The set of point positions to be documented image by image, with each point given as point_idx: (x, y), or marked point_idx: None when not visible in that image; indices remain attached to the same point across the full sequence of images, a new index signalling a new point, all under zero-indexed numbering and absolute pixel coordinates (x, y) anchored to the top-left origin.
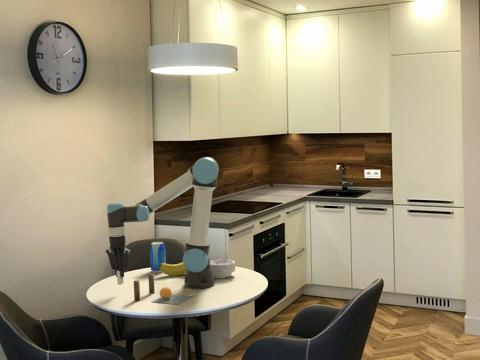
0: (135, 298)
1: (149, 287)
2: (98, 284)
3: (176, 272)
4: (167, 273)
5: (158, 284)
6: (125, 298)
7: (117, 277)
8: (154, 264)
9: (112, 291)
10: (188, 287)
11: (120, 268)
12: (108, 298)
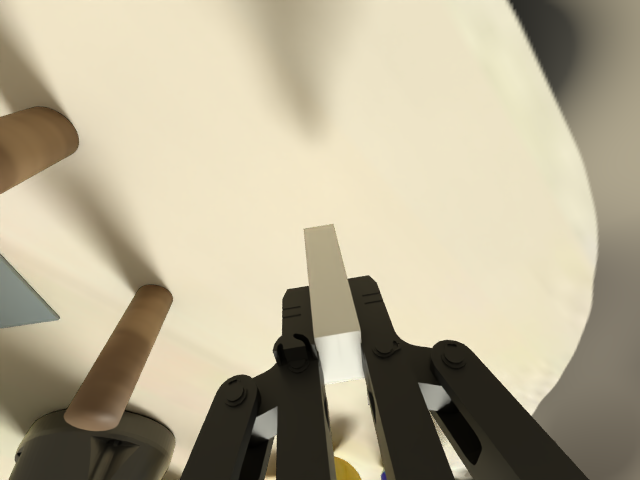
0: (20, 112)
1: (135, 316)
2: (589, 289)
3: None
4: None
5: None
6: (191, 131)
7: (340, 269)
8: None
9: (423, 226)
10: None
11: (294, 385)
12: (326, 59)
